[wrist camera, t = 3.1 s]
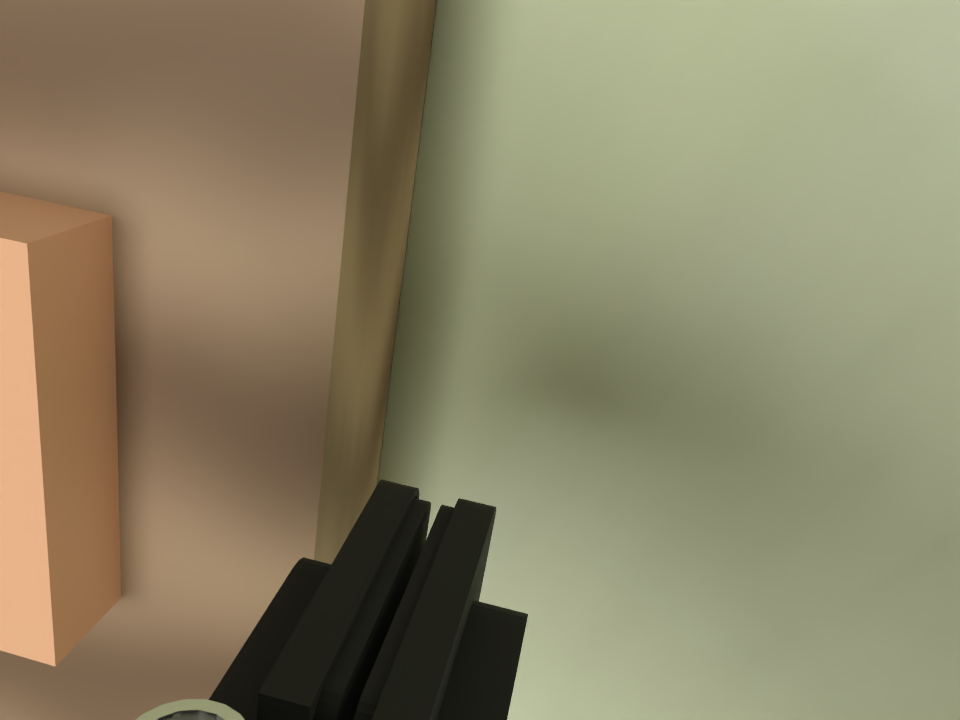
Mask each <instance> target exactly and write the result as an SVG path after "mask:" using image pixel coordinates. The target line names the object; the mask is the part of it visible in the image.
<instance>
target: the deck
mask: <svg viewBox="0 0 960 720" xmlns="http://www.w3.org/2000/svg"><path fill="white" fill-rule="evenodd" d="M436 2H437V0H0V191H1V192H6V193H10V194H15V195H20V196H24V197H29V198H34V199H38V200H43V201H47V202H52V203H57V204H61V205H66V206H71V207H75V208H80V209H84V210H89V211H94V212H98V213H103V214H108V215H112V232H113V274H114V315H115V357H116V398H117V440H118V481H119V523H120V564H121V598H120V600H119V601H118V602H117V603H116V604H115V605H114V606H113V607H112V608H111V609H110V610H109V611H108V612H107V613H106V614H105V615H104V616H103V617H102V618H101V619H100V620H99V622H98V623H97V624H96V625H95V626H94V627H93V628H92V629H91V630H90V631H89V632H88V633H87V634H86V635H85V636H84V637H83V638H82V639H81V640H80V641H79V642H78V644H77V645H76V646H75V647H74V648H73V649H72V650H71V651H70V652H69V653H68V654H67V655H66V656H65V657H64V658H63V659H62V660H61V661H60V662H59V663H58V664H57V666H56V667H55V666H52V665H48V664H45V663H41V662H38V661H35V660H31V659H28V658H25V657H21V656H18V655H14V654H11V653H8V652H4V651H1V650H0V720H136V719H137V718H139V717H140V716H141V715H142V714H144V713H146V712H148V711H150V710H152V709H154V708H156V707H158V706H160V705H162V704H166V703H170V702H175V701H179V700H183V699H207V700H209V698H210V697H211V695H212V694H213V692H214V691H215V689H216V687H217V686H218V684H219V683H220V681H221V680H222V678H223V676H224V675H225V673H226V672H227V670H228V669H229V667H230V665H231V664H232V662H233V661H234V659H235V658H236V656H237V655H238V653H239V651H240V650H241V648H242V647H243V645H244V644H245V642H246V640H247V639H248V637H249V636H250V634H251V633H252V631H253V629H254V628H255V626H256V625H257V623H258V622H259V620H260V618H261V617H262V615H263V614H264V612H265V611H266V609H267V608H268V606H269V604H270V603H271V601H272V600H273V598H274V597H275V595H276V593H277V592H278V590H279V589H280V587H281V586H282V584H283V582H284V581H285V579H286V578H287V576H288V575H289V573H290V572H291V570H292V568H293V567H294V566H295V564H296V563H297V562H298V560H300V559H301V558H303V557H304V558H308V559H312V560H316V561H320V562H324V563H328V564H332V563H333V561H334V559H335V558H336V556H337V554H338V552H339V551H340V549H341V547H342V545H343V544H344V542H345V540H346V538H347V537H348V535H349V533H350V531H351V530H352V528H353V526H354V524H355V523H356V521H357V519H358V517H359V516H360V514H361V512H362V510H363V509H364V507H365V505H366V504H367V502H368V500H369V498H370V497H371V495H372V493H373V491H374V490H375V488H376V486H377V480H378V471H379V463H380V455H381V447H382V439H383V431H384V423H385V415H386V407H387V399H388V391H389V382H390V374H391V366H392V358H393V350H394V342H395V334H396V326H397V318H398V310H399V302H400V293H401V285H402V277H403V269H404V261H405V253H406V245H407V237H408V229H409V221H410V213H411V204H412V196H413V188H414V180H415V172H416V164H417V156H418V148H419V140H420V132H421V124H422V115H423V107H424V99H425V91H426V83H427V75H428V67H429V59H430V51H431V43H432V35H433V26H434V18H435V10H436Z"/></svg>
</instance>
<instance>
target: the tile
mask: <svg viewBox="0 0 960 720" xmlns="http://www.w3.org/2000/svg"><path fill="white" fill-rule="evenodd" d="M120 598H121V564H120V523H119V481H118V440H117V398H116V357H115V315H114V274H113V232H112V215H108V214H103V213H98V212H94V211H89V210H84V209H80V208H75V207H71V206H66V205H61V204H57V203H52V202H47V201H43V200H38V199H34V198H29V197H24V196H20V195H15V194H10V193H6V192H1V191H0V650H1V651H4V652H8V653H11V654H14V655H18V656H21V657H25V658H28V659H31V660H35V661H38V662H41V663H45V664H48V665H52V666H55V667H56V666H57V664H58V663H59V662H60V661H61V660H62V659H63V658H64V657H65V656H66V655H67V654H68V653H69V652H70V651H71V650H72V649H73V648H74V647H75V646H76V645H77V644H78V642H79V641H80V640H81V639H82V638H83V637H84V636H85V635H86V634H87V633H88V632H89V631H90V630H91V629H92V628H93V627H94V626H95V625H96V624H97V623H98V622H99V620H100V619H101V618H102V617H103V616H104V615H105V614H106V613H107V612H108V611H109V610H110V609H111V608H112V607H113V606H114V605H115V604H116V603H117V602H118V601H119V600H120Z"/></svg>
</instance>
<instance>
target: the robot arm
mask: <svg viewBox="0 0 960 720" xmlns="http://www.w3.org/2000/svg"><path fill="white" fill-rule="evenodd" d="M430 509H431V503H430V502H428V501H424V500H420V499H419V489H418V488H414V487H410V486H406V485H401V484H397V483H393V482H389V481H385V480H381V481H380V482H379V483H378V484H377V486H376V488H375V490H374V491H373V493H372V495H371V497H370V498H369V500H368V502H367V504H366V505H365V507H364V509H363V510H362V512H361V514H360V516H359V517H358V519H357V521H356V523H355V524H354V526H353V528H352V530H351V531H350V533H349V535H348V537H347V538H346V540H345V542H344V544H343V545H342V547H341V549H340V551H339V552H338V554H337V556H336V558H335V559H334V561H333V563H332V564H328V563H324V562H320V561H316V560H312V559H308V558H304V557H303V558H301V559H300V560H298V562H297V563H296V564H295V566H294V567H293V568H292V570H291V572H290V573H289V575H288V576H287V578H286V579H285V581H284V582H283V584H282V586H281V587H280V589H279V590H278V592H277V593H276V595H275V597H274V598H273V600H272V601H271V603H270V604H269V606H268V608H267V609H266V611H265V612H264V614H263V615H262V617H261V618H260V620H259V622H258V623H257V625H256V626H255V628H254V629H253V631H252V633H251V634H250V636H249V637H248V639H247V640H246V642H245V644H244V645H243V647H242V648H241V650H240V651H239V653H238V655H237V656H236V658H235V659H234V661H233V662H232V664H231V665H230V667H229V669H228V670H227V672H226V673H225V675H224V676H223V678H222V680H221V681H220V683H219V684H218V686H217V687H216V689H215V691H214V692H213V694H212V695H211V697H210V698H209V700H207V699H183V700H179V701H175V702H170V703H166V704H162V705H160V706H158V707H156V708H154V709H152V710H150V711H148V712H146V713H144V714H142V715H141V716H140V717H139V718H137V719H136V720H507V716H508V711H509V706H510V702H511V697H512V692H513V687H514V682H515V677H516V672H517V667H518V662H519V657H520V652H521V647H522V642H523V637H524V632H525V627H526V622H527V617H528V614H525V613H521V612H517V611H513V610H510V609H506V608H502V607H498V606H494V605H490V604H486V603H482V602H479V597H480V592H481V587H482V582H483V577H484V571H485V566H486V561H487V556H488V551H489V545H490V540H491V535H492V530H493V525H494V519H495V514H496V507H493V506H489V505H485V504H481V503H476V502H472V501H468V500H464V499H460V498H459V499H458V501H457V503H456V505H455V508H453V507H449V506H445V505H441V507H440V509H439V511H438V514H437V516H436V519H435V521H434V523H433V526H432V528H431V530H430V533H429V535H428V538H427V540H426V536H427V530H428V523H429V516H430Z"/></svg>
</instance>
